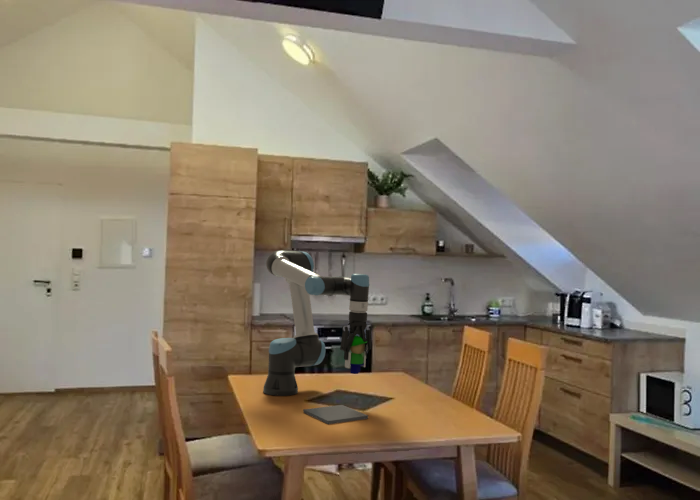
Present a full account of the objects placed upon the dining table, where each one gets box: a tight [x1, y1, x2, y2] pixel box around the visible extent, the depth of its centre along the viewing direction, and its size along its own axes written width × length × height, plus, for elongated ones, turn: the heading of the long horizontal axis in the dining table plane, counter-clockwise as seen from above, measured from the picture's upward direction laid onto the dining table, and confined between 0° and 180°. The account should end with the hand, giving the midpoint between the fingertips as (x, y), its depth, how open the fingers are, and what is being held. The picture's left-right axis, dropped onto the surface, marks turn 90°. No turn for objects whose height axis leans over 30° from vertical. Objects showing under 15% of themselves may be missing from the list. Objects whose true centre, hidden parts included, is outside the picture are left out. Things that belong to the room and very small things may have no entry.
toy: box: [349, 335, 369, 375], centre depth 249 cm, size 9×9×15 cm
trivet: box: [302, 404, 369, 425], centre depth 233 cm, size 18×18×1 cm
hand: (355, 367), depth 249 cm, fingers closed on toy, 7 cm apart
